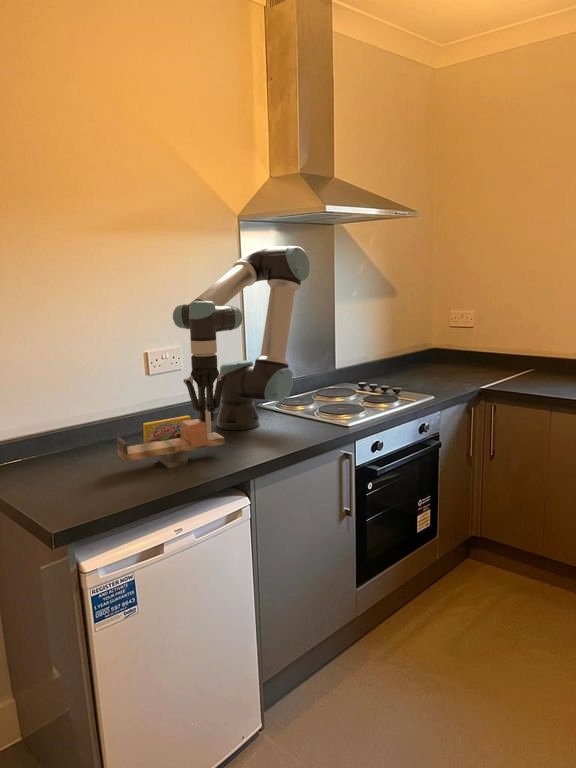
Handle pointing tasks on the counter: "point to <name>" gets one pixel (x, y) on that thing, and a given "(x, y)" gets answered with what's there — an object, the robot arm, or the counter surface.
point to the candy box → (163, 429)
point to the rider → (194, 432)
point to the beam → (165, 450)
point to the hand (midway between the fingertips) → (207, 431)
